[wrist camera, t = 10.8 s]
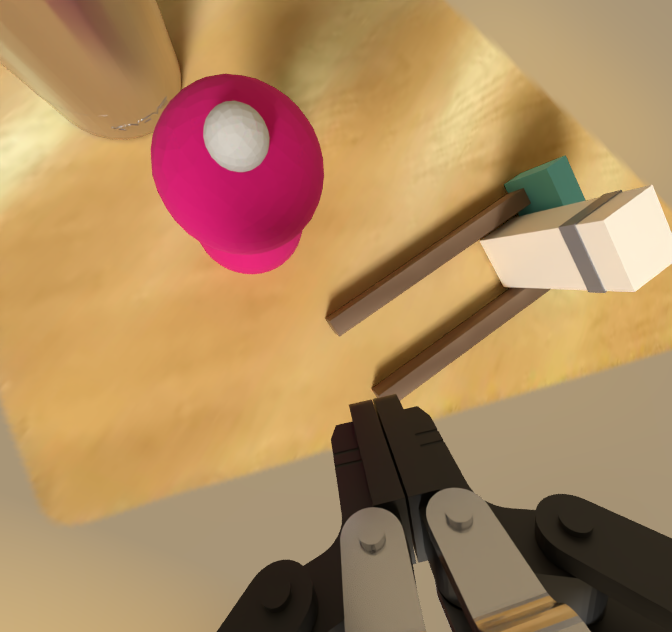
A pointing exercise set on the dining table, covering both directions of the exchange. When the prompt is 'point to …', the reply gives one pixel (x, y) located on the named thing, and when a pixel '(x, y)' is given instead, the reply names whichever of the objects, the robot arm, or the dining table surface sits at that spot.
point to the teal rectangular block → (547, 186)
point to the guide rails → (420, 268)
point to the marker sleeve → (585, 244)
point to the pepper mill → (238, 170)
